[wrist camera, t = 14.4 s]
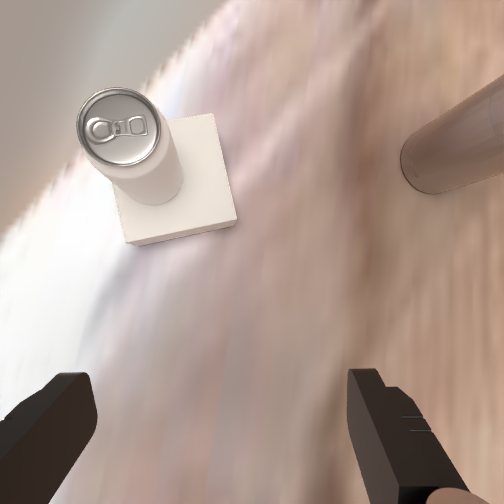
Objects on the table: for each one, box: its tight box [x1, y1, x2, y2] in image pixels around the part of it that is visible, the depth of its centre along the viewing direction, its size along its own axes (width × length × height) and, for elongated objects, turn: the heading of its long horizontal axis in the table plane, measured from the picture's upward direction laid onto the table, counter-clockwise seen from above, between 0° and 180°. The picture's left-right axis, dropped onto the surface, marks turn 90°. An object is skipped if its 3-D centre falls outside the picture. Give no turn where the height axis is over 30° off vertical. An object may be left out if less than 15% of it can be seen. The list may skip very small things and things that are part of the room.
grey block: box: [112, 113, 237, 246], centre depth 37 cm, size 12×12×6 cm
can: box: [76, 87, 183, 205], centre depth 28 cm, size 6×6×12 cm
